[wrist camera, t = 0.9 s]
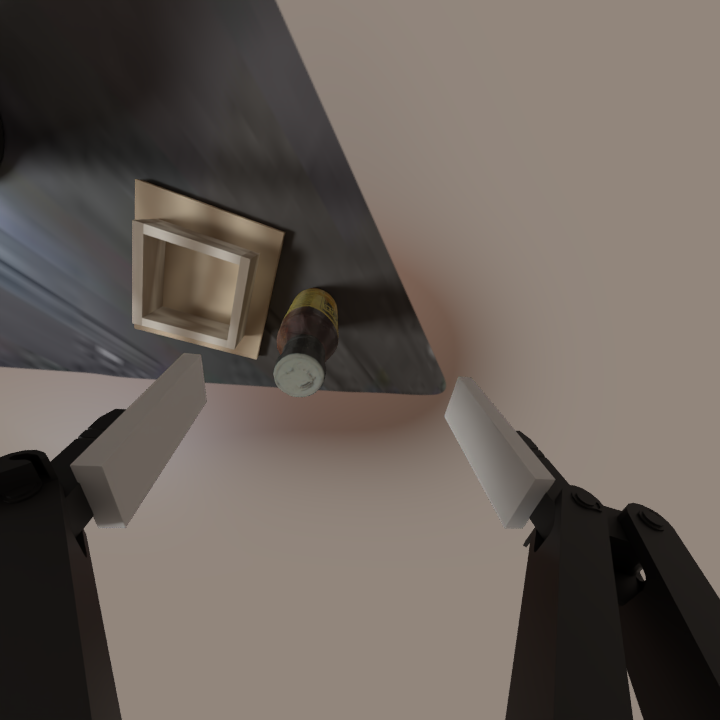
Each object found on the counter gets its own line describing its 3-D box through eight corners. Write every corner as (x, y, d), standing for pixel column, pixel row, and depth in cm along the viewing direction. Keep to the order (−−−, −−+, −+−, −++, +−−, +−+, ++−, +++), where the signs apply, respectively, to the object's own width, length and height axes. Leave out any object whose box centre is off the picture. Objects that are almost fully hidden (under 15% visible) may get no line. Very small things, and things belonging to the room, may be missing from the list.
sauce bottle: (338, 327, 42) (342, 413, 24) (295, 329, 41) (267, 417, 24) (336, 282, 38) (338, 342, 21) (289, 283, 38) (252, 347, 21)
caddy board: (139, 324, 39) (111, 342, 34) (141, 179, 32) (105, 174, 26) (258, 355, 43) (248, 375, 38) (285, 232, 35) (277, 236, 30)
